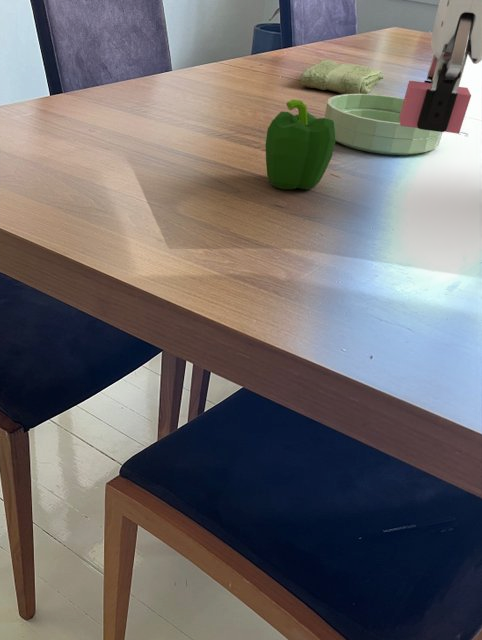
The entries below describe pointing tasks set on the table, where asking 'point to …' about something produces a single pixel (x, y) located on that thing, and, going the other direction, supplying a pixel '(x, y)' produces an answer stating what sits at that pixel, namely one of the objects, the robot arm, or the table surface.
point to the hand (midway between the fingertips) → (430, 122)
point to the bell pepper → (298, 148)
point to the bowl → (377, 125)
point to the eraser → (415, 102)
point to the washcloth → (341, 77)
